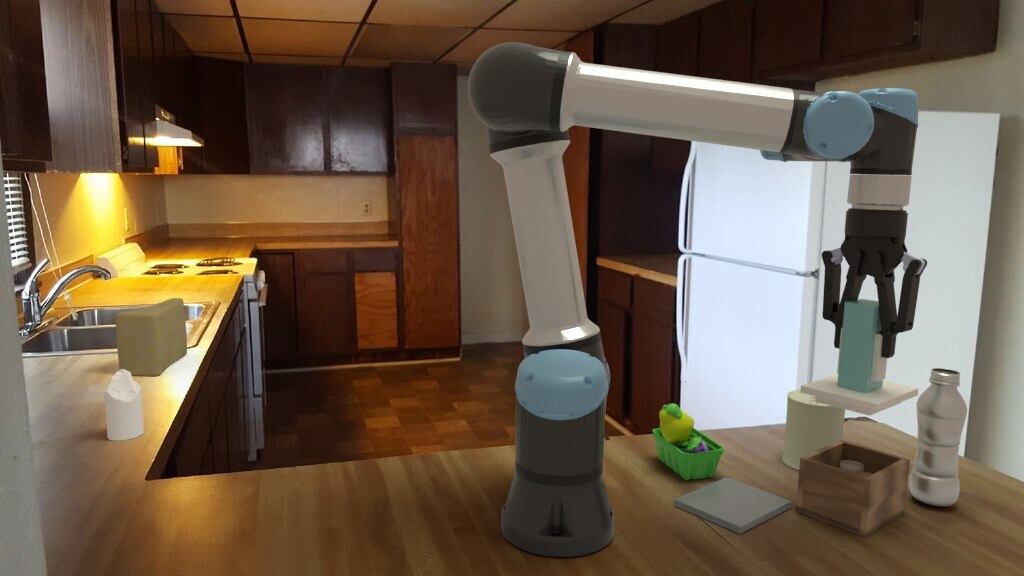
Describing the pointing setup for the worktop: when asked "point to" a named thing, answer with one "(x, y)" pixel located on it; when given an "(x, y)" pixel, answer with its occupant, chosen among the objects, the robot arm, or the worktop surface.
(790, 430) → the can
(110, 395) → the white upright rounded piece
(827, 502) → the box
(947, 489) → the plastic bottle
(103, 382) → the worktop surface
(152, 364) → the cheese
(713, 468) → the fruit basket
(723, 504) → the plate
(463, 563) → the worktop surface
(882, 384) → the lid
